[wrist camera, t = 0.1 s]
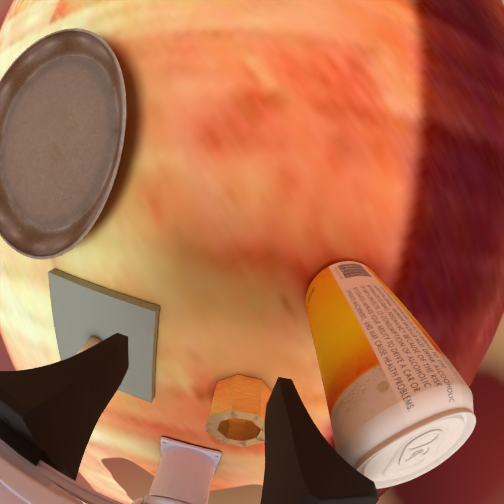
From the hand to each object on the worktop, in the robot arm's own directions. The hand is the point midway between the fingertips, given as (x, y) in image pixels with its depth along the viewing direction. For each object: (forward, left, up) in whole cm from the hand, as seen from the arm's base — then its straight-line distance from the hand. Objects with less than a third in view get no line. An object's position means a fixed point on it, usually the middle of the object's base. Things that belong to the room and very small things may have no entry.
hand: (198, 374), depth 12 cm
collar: (-11, -4, -10) cm, 16 cm away
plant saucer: (+9, +19, -10) cm, 24 cm away
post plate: (-9, +11, -10) cm, 18 cm away
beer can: (+2, -9, -10) cm, 14 cm away
